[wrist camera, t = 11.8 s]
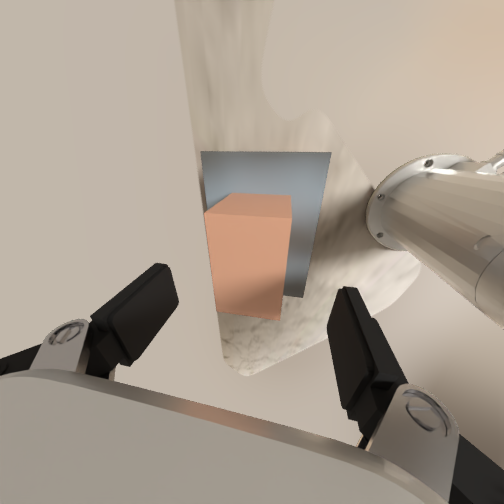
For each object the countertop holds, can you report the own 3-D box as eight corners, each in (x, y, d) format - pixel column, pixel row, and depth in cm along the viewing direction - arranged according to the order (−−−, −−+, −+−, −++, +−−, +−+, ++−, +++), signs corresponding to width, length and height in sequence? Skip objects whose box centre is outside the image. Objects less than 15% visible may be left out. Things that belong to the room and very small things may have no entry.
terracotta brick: (232, 192, 15) (203, 213, 10) (290, 195, 15) (292, 218, 10) (235, 268, 19) (216, 311, 14) (282, 274, 19) (279, 320, 13)
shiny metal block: (237, 151, 25) (200, 151, 14) (312, 152, 23) (331, 152, 13) (240, 242, 31) (216, 286, 21) (297, 247, 30) (302, 297, 20)
